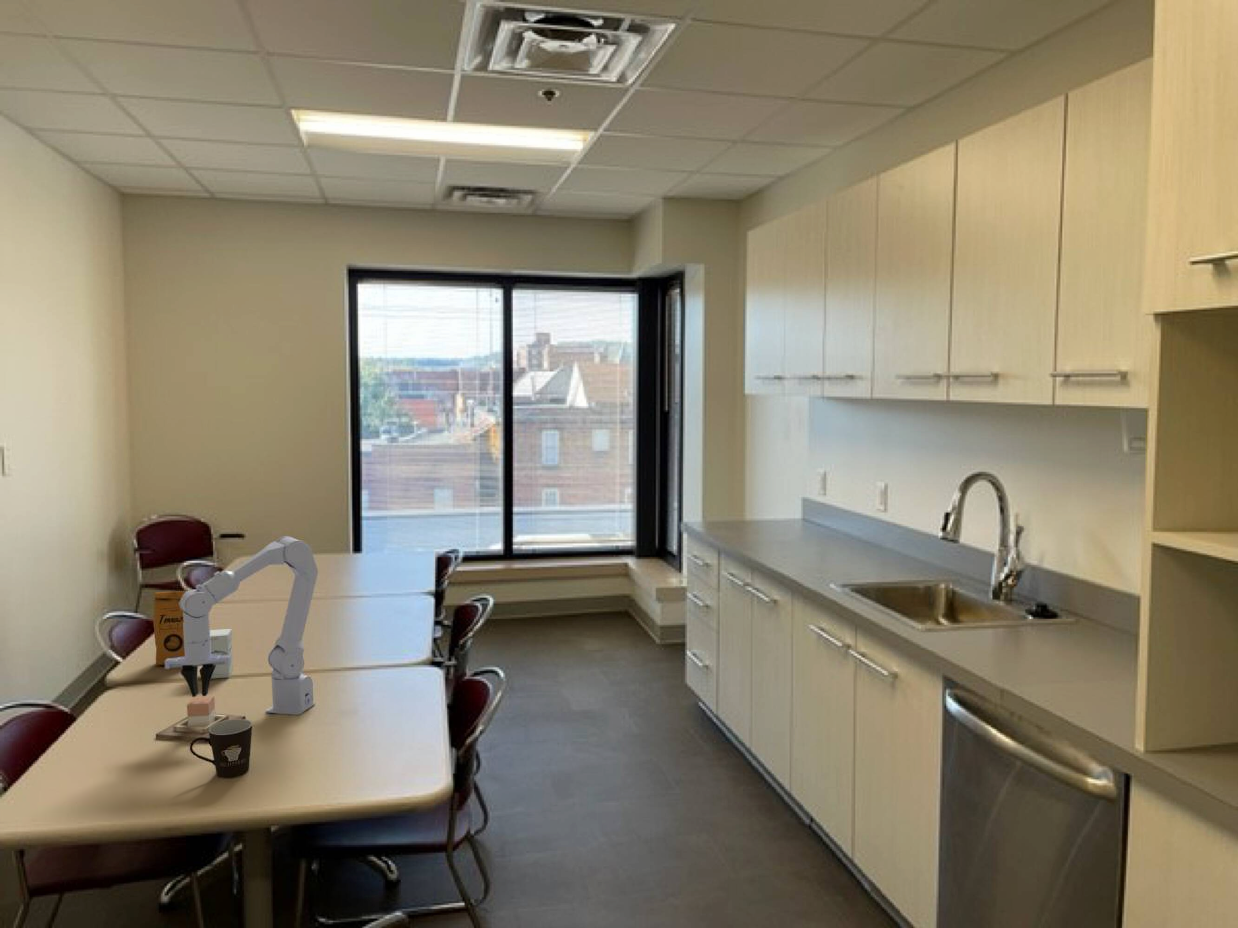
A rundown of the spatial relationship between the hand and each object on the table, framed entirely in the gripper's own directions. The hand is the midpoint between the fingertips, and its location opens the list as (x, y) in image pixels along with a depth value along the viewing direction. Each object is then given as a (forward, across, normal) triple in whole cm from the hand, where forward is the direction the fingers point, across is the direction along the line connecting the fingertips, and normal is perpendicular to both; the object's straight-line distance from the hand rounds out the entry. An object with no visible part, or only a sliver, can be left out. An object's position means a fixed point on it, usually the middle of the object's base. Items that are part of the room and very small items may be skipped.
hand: (200, 695), depth 210 cm
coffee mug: (+9, -12, +26) cm, 30 cm away
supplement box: (+9, +8, -42) cm, 43 cm away
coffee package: (+9, +23, -56) cm, 61 cm away
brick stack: (+7, 0, 0) cm, 7 cm away
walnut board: (+8, 0, 0) cm, 8 cm away
